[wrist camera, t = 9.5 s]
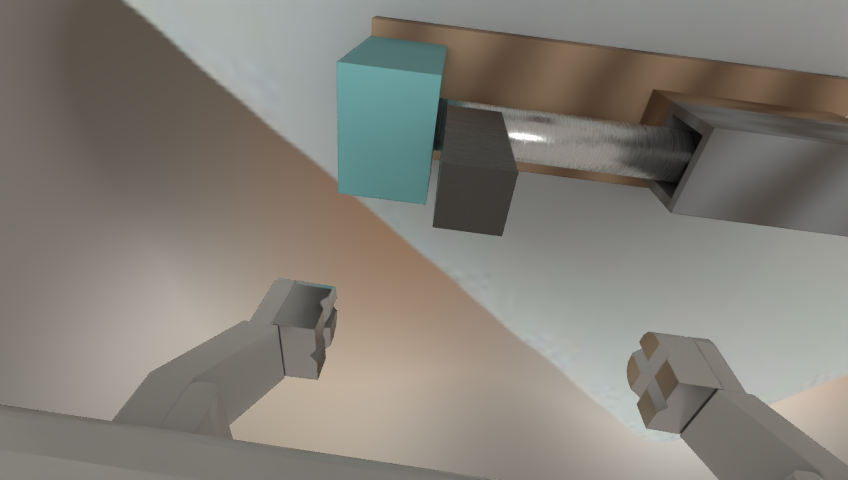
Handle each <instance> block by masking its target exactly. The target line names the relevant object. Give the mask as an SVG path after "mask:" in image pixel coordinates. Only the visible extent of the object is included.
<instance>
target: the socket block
mask: <svg viewBox="0 0 848 480" xmlns="http://www.w3.org/2000/svg"><path fill="white" fill-rule="evenodd" d="M446 52H447V45H440V44H432V43H425V42H417V41H409V40H402V39H394V38H387V37H379V36H370V37H369V38H368V39H366V40H365V41H364V42H362V43H361V44H360V45H359V46H357V47H356V48H355V49H353V50H352V51H351V52H349V53H348V54H347V55H345V56H344V57H343V58H341V59H340V60H339V61H337V113H338V193H342V194H349V195H357V196H364V197H372V198H379V199H387V200H394V201H402V202H409V203H417V204H424V205H426V198H427V192H428V185H429V179H430V172H431V166H432V159H433V153H434V150H433V144H434V136H435V128H436V120H437V112H438V105H439V98H441V91H442V83H443V76H444V68H445V60H446Z"/></svg>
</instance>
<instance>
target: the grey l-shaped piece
mask: <svg viewBox="0 0 848 480" xmlns="http://www.w3.org/2000/svg"><path fill="white" fill-rule="evenodd" d="M702 137H703V135H702V134H700V133H699V132H695V131H687V130H680V129H672V128H665V127H657V126H649V125H642V124H634V123H627V122H619V121H611V120H604V119H596V118H589V117H581V116H573V115H566V114H558V113H551V112H543V111H535V110H528V109H520V108H513V107H505V106H497V105H490V104H482V103H475V102H467V101H459V100H452V99H444V98H439V105H438V112H437V120H436V128H435V136H434V144H433V150H434V151H441V156H440V165H439V174H438V183H437V192H436V201H435V210H434V218H433V227H436V228H443V229H451V230H458V231H466V232H473V233H481V234H488V235H496V236H502V234H503V230H504V226H505V222H506V218H507V214H508V211H509V207H510V203H511V199H512V195H513V191H514V187H515V183H516V179H517V176H518V169H517V166H516V162H515V161H517V162H525V163H533V164H540V165H548V166H555V167H563V168H570V169H578V170H586V171H593V172H601V173H608V174H616V175H623V176H631V177H639V178H646V179H654V180H661V181H669V182H676V183H680V181H681V179H682V177H683V175H684V173H685V171H686V169H687V167H688V165H689V163H690V161H691V159H692V157H693V155H694V153H695V151H696V149H697V147H698V145H699V143H700V141H701V139H702Z"/></svg>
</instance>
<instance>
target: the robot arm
mask: <svg viewBox="0 0 848 480" xmlns="http://www.w3.org/2000/svg"><path fill="white" fill-rule="evenodd" d="M336 298H337V297H336V288H335V287H333V286H327V285H321V284H315V283H309V282H304V281H295V280H289V279H283V278H278V279H277V280H275V281H274V283H273V284H272V286H271V288H270V290H269V291H268V293H267V294H266V296H265V297H264V299H263V301H262V302H261V304H260V305H259V307H258V309H257V310H256V312H255V313H254V315H253V317H252V318H251V320H250V321H242V322H240V323H239V324H237V325H235V326H233V327H231V328H229V329H228V330H226V331H224V332H222V333H220V334H219V335H217V336H215V337H213V338H211V339H210V340H208V341H206V342H204V343H202V344H201V345H199V346H197V347H195V348H193V349H191V350H190V351H188V352H186V353H184V354H182V355H181V356H179V357H177V358H175V359H173V360H171V361H170V362H168V363H166V364H164V365H162V366H161V367H159V368H157V369H155V370H154V371H152V372H150V373H149V374H148V376H147V377H146V378H145V380H144V381H143V382H142V383H141V385H140V386H139V387H138V388H137V390H136V391H135V392H134V394H133V395H132V396H131V397H130V399H129V400H128V401H127V402H126V404H125V405H124V406H123V407H122V409H121V410H120V411H119V413H118V414H117V415H116V416H115V417H114V419H113V420H112V421H107V420H101V419H94V418H87V417H81V416H74V415H67V414H61V413H54V412H48V411H41V410H34V409H28V408H21V407H14V406H8V405H1V404H0V480H498V479H492V478H485V477H479V476H472V475H465V474H459V473H452V472H445V471H439V470H432V469H426V468H419V467H413V466H405V465H399V464H393V463H386V462H379V461H373V460H366V459H359V458H353V457H346V456H340V455H333V454H326V453H320V452H313V451H306V450H300V449H293V448H286V447H280V446H273V445H266V444H260V443H253V442H246V441H240V440H233V438H232V434H231V431H230V427H229V425H230V424H231V423H232V422H233V421H235V420H236V419H237V418H238V417H239V416H240V415H241V414H243V413H244V412H245V411H246V410H247V409H249V408H250V407H251V406H252V405H253V404H255V403H256V402H257V401H258V400H259V399H260V398H262V397H263V396H264V395H265V394H266V393H267V392H269V391H270V390H271V389H272V388H273V387H274V386H276V385H277V384H278V383H279V382H280V381H281V380H282V379H284V376H290V377H299V378H307V379H316V380H318V378H319V375H320V373H321V370H322V367H323V364H324V362H325V359H326V355H325V349H326V348H327V347H329V346H330V345H331V342H332V340H333V337H334V332H335V328H336V321H337V310H336V309H335V308H334V303H335V301H336ZM640 345H641V347H642V348H641V349H640V350H638V351H636V352H634V353H632V355H631V357H630V359H629V361H628V366H627V378H628V382H629V385H630V388H631V390H633V391H634V392H635V393H636V394H637V395H638V396H639V397H640V398H639V401H638V403H637V406H638V409H639V411H640V414H641V417H642V419H643V422H644V424H645V427H646V428H647V429H653V430H659V431H665V432H670V433H676V434H681V435H680V437H681V438H682V439H683V440H684V441H685V442H686V443H687V444H688V446H689V447H690V448H691V449H692V450H693V451H694V452H695V453H696V454H697V456H698V457H699V458H700V459H701V460H702V461H703V462H704V463H705V465H706V466H707V467H708V468H709V469H710V470H711V471H712V472H713V474H714V475H715V476H716V477H717V478H718V479H719V480H848V465H846V464H845V463H843V462H842V461H841V460H840V459H838V458H837V457H836V456H834V455H833V454H832V453H830V452H829V451H828V450H826V449H825V448H823V447H822V446H821V445H820V444H818V443H817V442H816V441H814V440H813V439H812V438H810V437H809V436H808V435H806V434H805V433H804V432H802V431H801V430H800V429H798V428H797V427H795V426H794V425H793V424H791V423H790V422H789V421H788V420H786V419H785V418H784V417H782V416H781V415H779V414H778V413H777V412H776V411H774V410H773V409H772V408H770V407H769V406H768V405H766V404H765V403H764V402H762V401H761V400H760V399H758V398H757V397H756V396H754V395H752V394H747V393H746V392H745V390H744V389H743V387H742V386H741V384H740V382H739V381H738V379H737V378H736V376H735V375H734V373H733V372H732V370H731V369H730V367H729V366H728V364H727V362H726V361H725V359H724V358H723V356H722V355H721V353H720V352H719V350H718V349H717V347H716V346H715V344H714V343H713V342H711V341H710V340H709V339H701V338H693V337H684V336H677V335H669V334H662V333H655V332H647V333H646V334H644V335H643V337H642V338H641V340H640Z"/></svg>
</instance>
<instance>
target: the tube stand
mask: <svg viewBox="0 0 848 480" xmlns="http://www.w3.org/2000/svg"><path fill="white" fill-rule="evenodd" d="M372 36H379V37H387V38H394V39H402V40H409V41H417V42H425V43H432V44H440V45H447V52H446V60H445V68H444V76H443V83H442V91H441V98H444V99H452V100H459V101H467V102H475V103H482V104H490V105H497V106H505V107H513V108H520V109H528V110H535V111H543V112H551V113H558V114H566V115H573V116H581V117H589V118H596V119H604V120H611V121H619V122H627V123H634V124H642V125H649V126H657V127H665V128H672V129H680V130H687V131H695V132H699V133H700V134H702V135H703V137H702V139H701V141H700V143H699V145H698V147H697V149H696V151H695V153H694V155H693V157H692V159H691V161H690V163H689V165H688V167H687V169H686V171H685V173H684V175H683V177H682V179H681V181H680V183H676V182H669V181H661V180H654V179H646V178H639V177H631V176H623V175H616V174H608V173H601V172H593V171H586V170H578V169H570V168H563V167H555V166H548V165H540V164H533V163H525V162H517V161H515V162H516V166H517V169H518V171H524V172H531V173H539V174H547V175H554V176H562V177H569V178H577V179H584V180H592V181H600V182H607V183H615V184H622V185H630V186H637V187H645V188H650V189H651V190H652V191H653V193H654V194H655V195H656V196H657V197H658V199H659V200H660V201H661V202H662V203H663V204H664V206H665V207H666V208H667V209H668V210H669V211H670V213H673V214H681V215H688V216H696V217H704V218H711V219H719V220H726V221H734V222H741V223H749V224H756V225H764V226H772V227H779V228H787V229H794V230H802V231H809V232H817V233H824V234H832V235H840V236H847V237H848V118H845V117H846V116H847V114H848V78H846V77H838V76H830V75H823V74H815V73H807V72H800V71H792V70H784V69H777V68H769V67H761V66H754V65H746V64H739V63H731V62H723V61H716V60H708V59H700V58H693V57H685V56H677V55H670V54H662V53H655V52H647V51H639V50H632V49H624V48H616V47H609V46H601V45H593V44H586V43H578V42H570V41H563V40H555V39H548V38H540V37H532V36H525V35H517V34H509V33H502V32H494V31H486V30H479V29H471V28H464V27H456V26H448V25H441V24H433V23H425V22H418V21H410V20H402V19H395V18H387V17H379V16H376V17H374V18H372ZM440 156H441V151H434V153H433V160H440Z"/></svg>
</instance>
